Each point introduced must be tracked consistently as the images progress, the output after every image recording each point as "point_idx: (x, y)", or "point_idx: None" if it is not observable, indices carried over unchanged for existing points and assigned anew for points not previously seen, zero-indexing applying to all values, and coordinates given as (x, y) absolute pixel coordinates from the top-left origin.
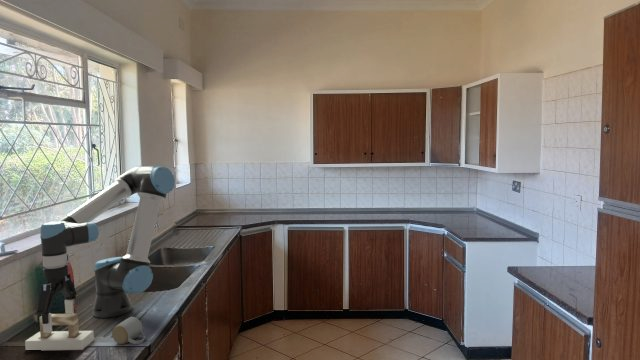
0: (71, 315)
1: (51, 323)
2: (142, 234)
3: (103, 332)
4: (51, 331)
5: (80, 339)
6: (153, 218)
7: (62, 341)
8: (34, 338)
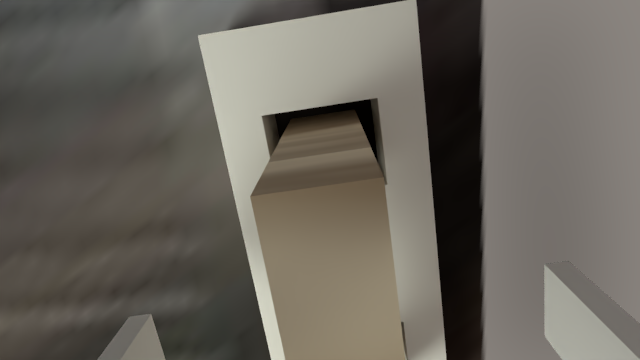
0: (341, 232)
1: (608, 318)
2: None
3: (76, 56)
4: (564, 264)
5: (404, 24)
6: None
7: (428, 178)
8: None
